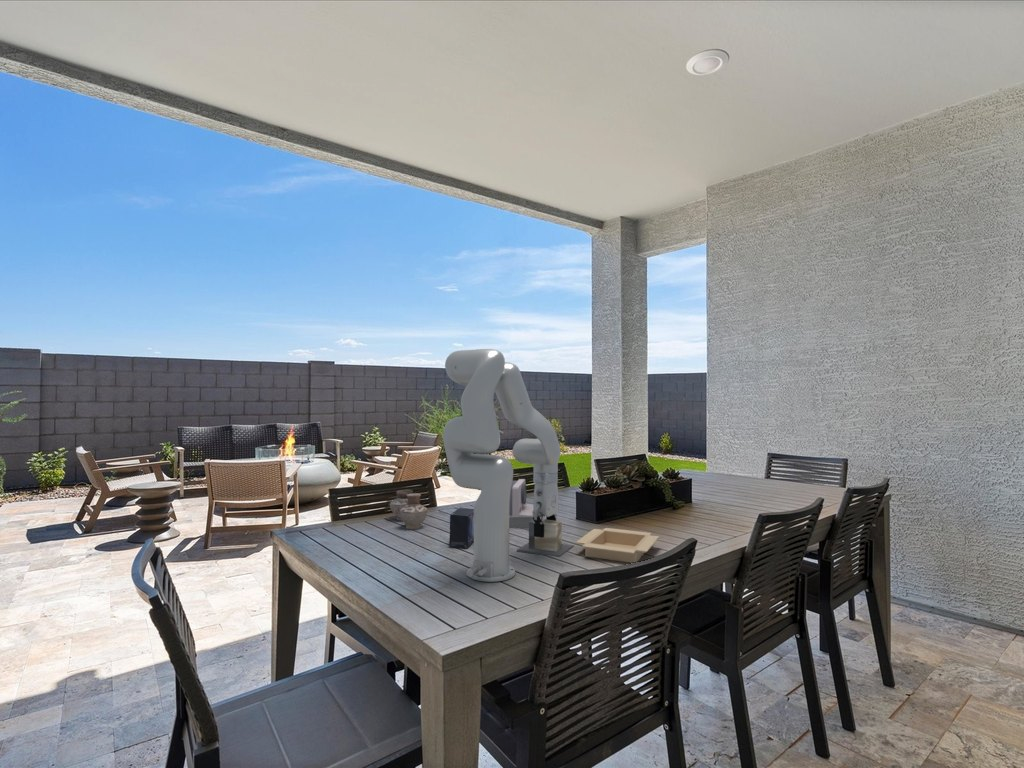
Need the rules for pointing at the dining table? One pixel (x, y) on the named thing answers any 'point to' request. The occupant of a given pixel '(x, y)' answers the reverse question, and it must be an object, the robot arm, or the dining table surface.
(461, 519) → the small box
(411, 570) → the dining table surface
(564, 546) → the mat
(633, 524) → the dining table surface
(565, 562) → the dining table surface
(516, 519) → the grey l-shaped block
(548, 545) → the box
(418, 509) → the pottery
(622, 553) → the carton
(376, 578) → the dining table surface
